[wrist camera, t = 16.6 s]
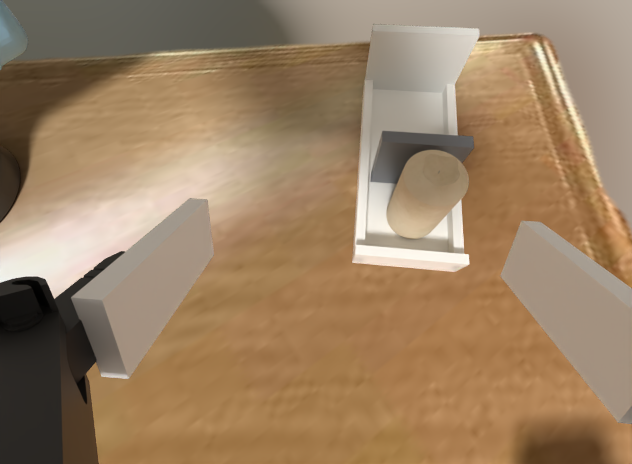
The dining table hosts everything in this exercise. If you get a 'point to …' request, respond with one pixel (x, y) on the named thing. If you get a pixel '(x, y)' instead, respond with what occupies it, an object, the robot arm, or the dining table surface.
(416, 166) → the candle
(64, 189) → the dining table surface
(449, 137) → the plate
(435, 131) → the pusher lane
